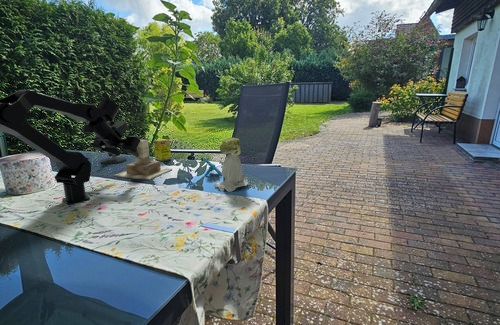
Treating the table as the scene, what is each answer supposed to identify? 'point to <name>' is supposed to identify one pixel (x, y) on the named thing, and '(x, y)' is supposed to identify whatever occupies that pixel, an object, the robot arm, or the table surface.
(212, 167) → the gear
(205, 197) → the table surface
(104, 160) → the gun turret
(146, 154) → the peg
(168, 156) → the supplement box
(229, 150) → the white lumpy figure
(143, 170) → the socket
